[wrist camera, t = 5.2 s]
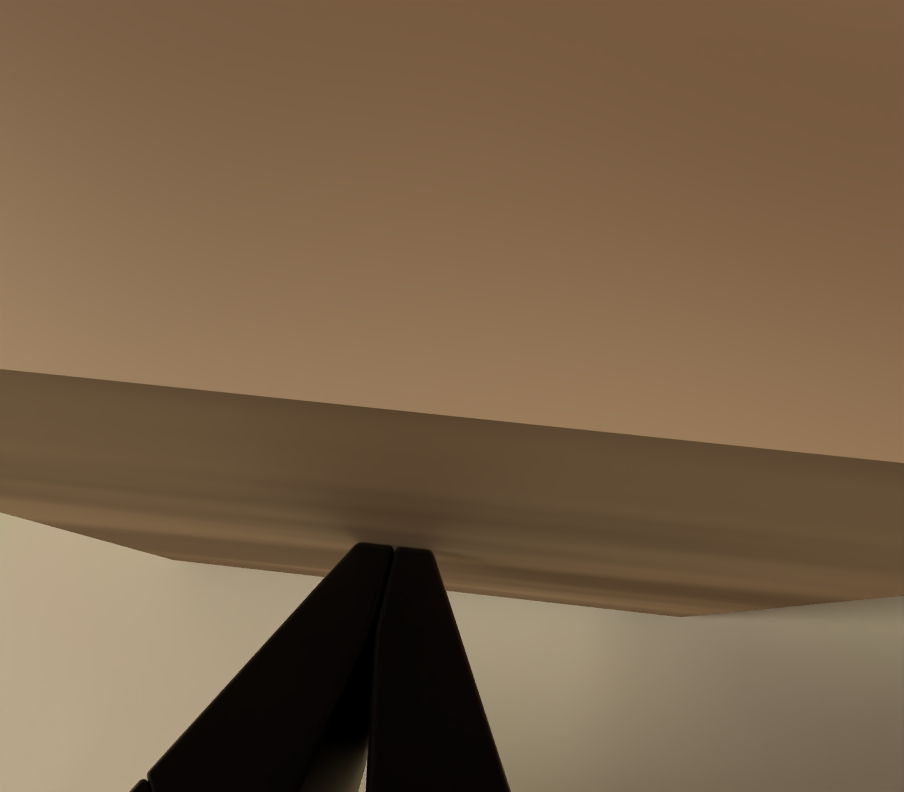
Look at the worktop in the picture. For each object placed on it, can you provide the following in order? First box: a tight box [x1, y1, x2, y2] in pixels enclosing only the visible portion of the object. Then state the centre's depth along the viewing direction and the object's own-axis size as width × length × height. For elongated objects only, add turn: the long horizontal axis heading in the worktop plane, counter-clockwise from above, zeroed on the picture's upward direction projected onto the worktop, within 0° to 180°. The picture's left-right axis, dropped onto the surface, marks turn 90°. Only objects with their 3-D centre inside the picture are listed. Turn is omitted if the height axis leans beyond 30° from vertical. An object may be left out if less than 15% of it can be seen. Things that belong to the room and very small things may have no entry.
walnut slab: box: [0, 0, 904, 617], centre depth 10 cm, size 4×10×13 cm, turn 84°
